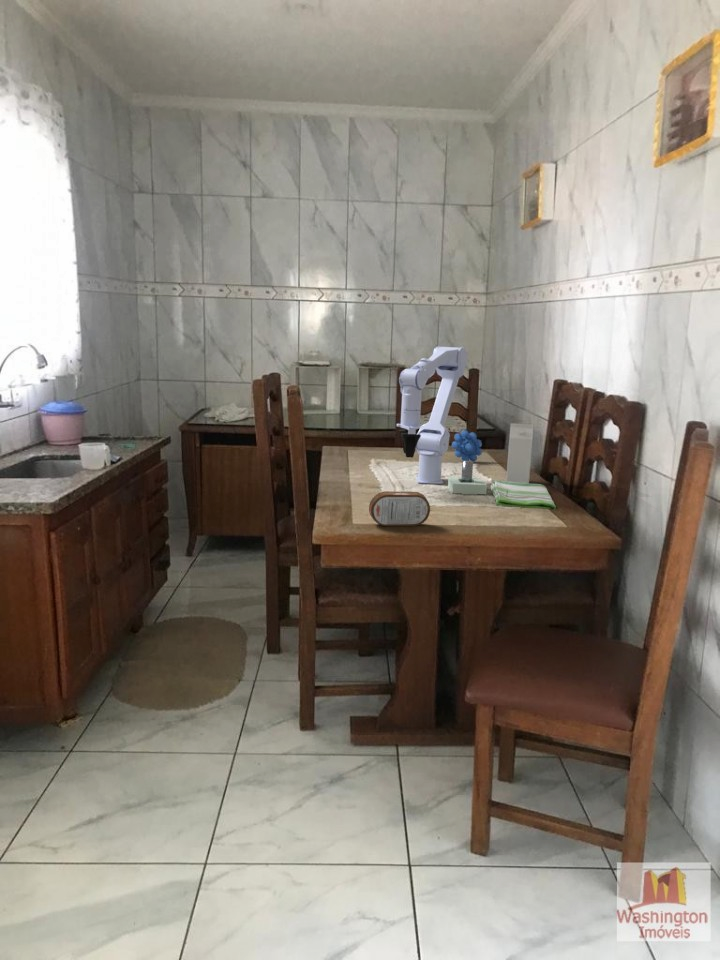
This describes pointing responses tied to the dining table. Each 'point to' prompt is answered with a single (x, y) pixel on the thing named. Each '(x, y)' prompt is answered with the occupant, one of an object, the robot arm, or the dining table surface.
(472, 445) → the grapes
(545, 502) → the dish towel
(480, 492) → the socket
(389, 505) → the tin
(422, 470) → the robot arm
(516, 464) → the milk carton
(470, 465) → the peg
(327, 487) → the dining table surface
